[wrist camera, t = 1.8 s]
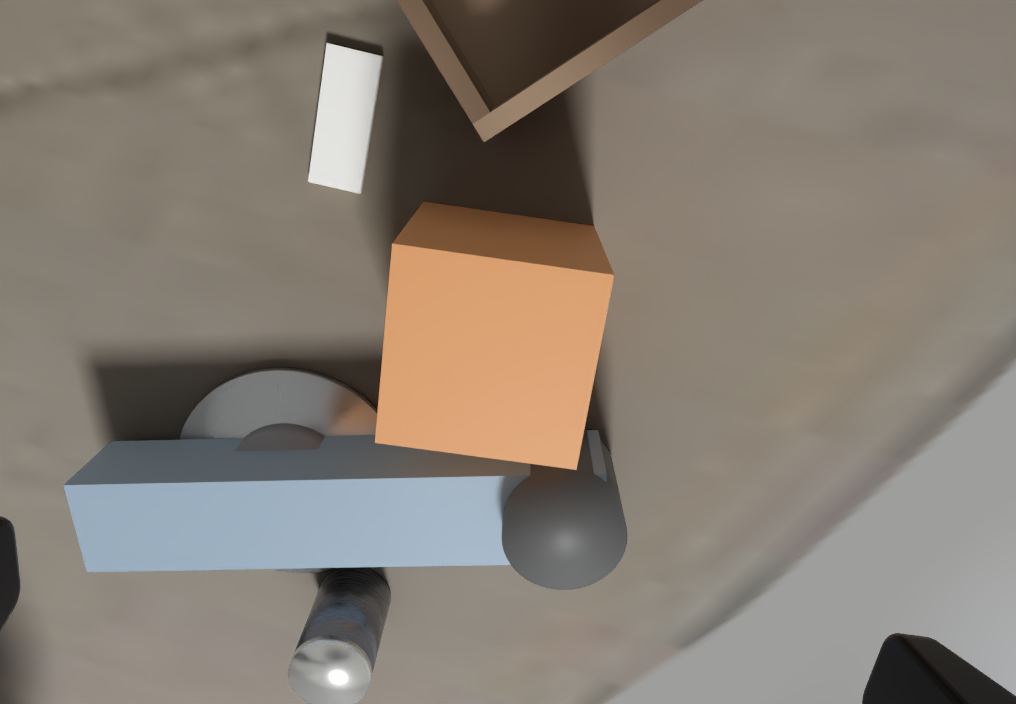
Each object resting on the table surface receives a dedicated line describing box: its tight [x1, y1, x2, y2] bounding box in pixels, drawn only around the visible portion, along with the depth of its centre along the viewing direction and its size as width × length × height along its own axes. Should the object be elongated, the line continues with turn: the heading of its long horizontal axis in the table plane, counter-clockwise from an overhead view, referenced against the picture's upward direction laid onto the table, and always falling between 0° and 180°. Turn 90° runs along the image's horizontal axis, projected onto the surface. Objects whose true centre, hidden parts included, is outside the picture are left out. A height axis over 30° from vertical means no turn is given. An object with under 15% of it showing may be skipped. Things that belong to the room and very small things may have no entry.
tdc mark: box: [308, 43, 384, 194], centre depth 17 cm, size 3×1×1 cm, turn 167°
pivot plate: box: [179, 368, 378, 573], centre depth 20 cm, size 6×6×1 cm
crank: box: [63, 423, 627, 590], centre depth 19 cm, size 13×3×3 cm, turn 92°
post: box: [288, 567, 391, 704], centre depth 20 cm, size 2×2×3 cm
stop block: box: [375, 202, 614, 470], centre depth 17 cm, size 4×4×4 cm
